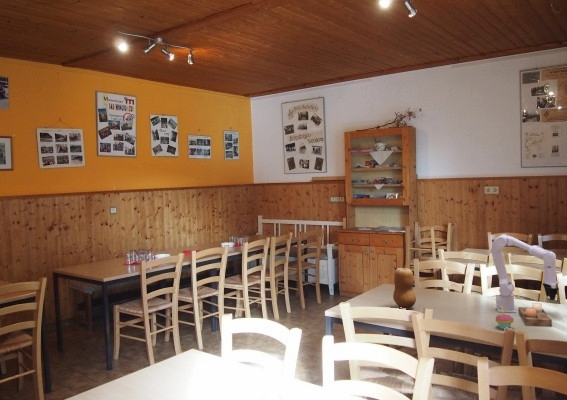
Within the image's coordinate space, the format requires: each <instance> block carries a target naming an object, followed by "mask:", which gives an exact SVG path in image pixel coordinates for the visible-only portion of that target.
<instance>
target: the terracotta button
mask: <svg viewBox="0 0 567 400" xmlns="http://www.w3.org/2000/svg"><path fill="white" fill-rule="evenodd" d="M526 317H528V318H536V309H534V308H532V307H529V308H526Z"/></svg>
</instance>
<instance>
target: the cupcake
mask: <svg viewBox="0 0 567 400" xmlns="http://www.w3.org/2000/svg"><path fill="white" fill-rule="evenodd" d="M495 322H497V324H498V327H499V329H500V330H505V329H504V328H506V327H508V328H509V329H510V328H511V325H512V324H513V323H514V318H513V317H512V316H511V315H509V314H507V313H505V312H503V306H502V312H501V313H500V314H498V315H496V316H495Z"/></svg>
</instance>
